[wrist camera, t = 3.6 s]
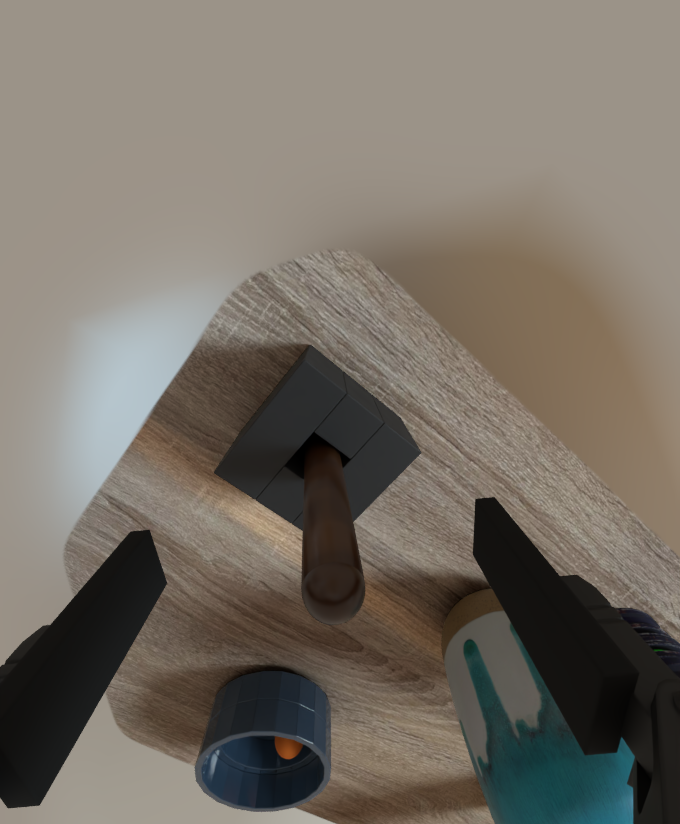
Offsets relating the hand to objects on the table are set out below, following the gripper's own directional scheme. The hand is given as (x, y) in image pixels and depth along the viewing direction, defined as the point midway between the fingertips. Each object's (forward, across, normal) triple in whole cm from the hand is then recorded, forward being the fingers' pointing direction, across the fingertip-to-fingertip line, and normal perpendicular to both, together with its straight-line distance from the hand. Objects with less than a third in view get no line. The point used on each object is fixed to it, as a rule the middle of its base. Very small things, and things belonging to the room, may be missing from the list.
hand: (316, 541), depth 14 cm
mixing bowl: (+13, -9, -31) cm, 35 cm away
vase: (+13, +13, -20) cm, 27 cm away
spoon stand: (+13, 0, 0) cm, 13 cm away
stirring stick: (+13, 0, 0) cm, 13 cm away
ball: (+11, -7, -33) cm, 35 cm away
